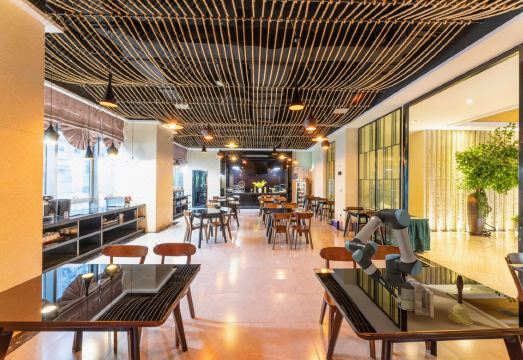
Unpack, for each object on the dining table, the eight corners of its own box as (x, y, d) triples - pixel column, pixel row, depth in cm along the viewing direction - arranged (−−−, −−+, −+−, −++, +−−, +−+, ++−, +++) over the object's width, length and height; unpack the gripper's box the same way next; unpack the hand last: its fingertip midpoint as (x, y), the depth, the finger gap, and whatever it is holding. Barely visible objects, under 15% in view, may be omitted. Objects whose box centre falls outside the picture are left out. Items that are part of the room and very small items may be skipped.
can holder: (405, 302, 179) (404, 275, 180) (420, 304, 178) (420, 276, 179) (416, 315, 160) (415, 285, 161) (433, 317, 158) (433, 287, 159)
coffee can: (394, 305, 175) (394, 283, 176) (407, 303, 178) (407, 281, 179) (407, 312, 165) (407, 288, 166) (420, 310, 168) (420, 287, 169)
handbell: (479, 322, 153) (478, 277, 154) (465, 326, 148) (464, 279, 150) (456, 313, 164) (455, 271, 166) (442, 316, 160) (442, 273, 161)
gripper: (366, 272, 181) (392, 301, 177) (370, 277, 169) (398, 309, 164) (374, 265, 181) (401, 294, 176) (379, 269, 168) (408, 301, 163)
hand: (400, 301), depth 170 cm, fingers closed
